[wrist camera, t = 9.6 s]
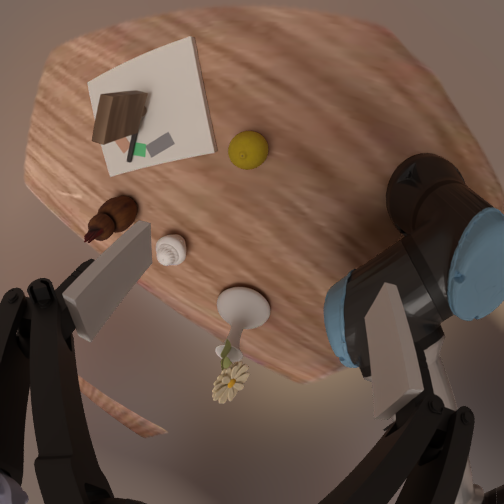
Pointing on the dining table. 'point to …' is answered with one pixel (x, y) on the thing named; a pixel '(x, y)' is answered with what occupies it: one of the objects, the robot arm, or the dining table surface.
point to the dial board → (160, 107)
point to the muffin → (171, 250)
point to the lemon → (248, 150)
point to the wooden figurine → (111, 218)
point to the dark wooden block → (119, 117)
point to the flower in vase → (237, 337)
